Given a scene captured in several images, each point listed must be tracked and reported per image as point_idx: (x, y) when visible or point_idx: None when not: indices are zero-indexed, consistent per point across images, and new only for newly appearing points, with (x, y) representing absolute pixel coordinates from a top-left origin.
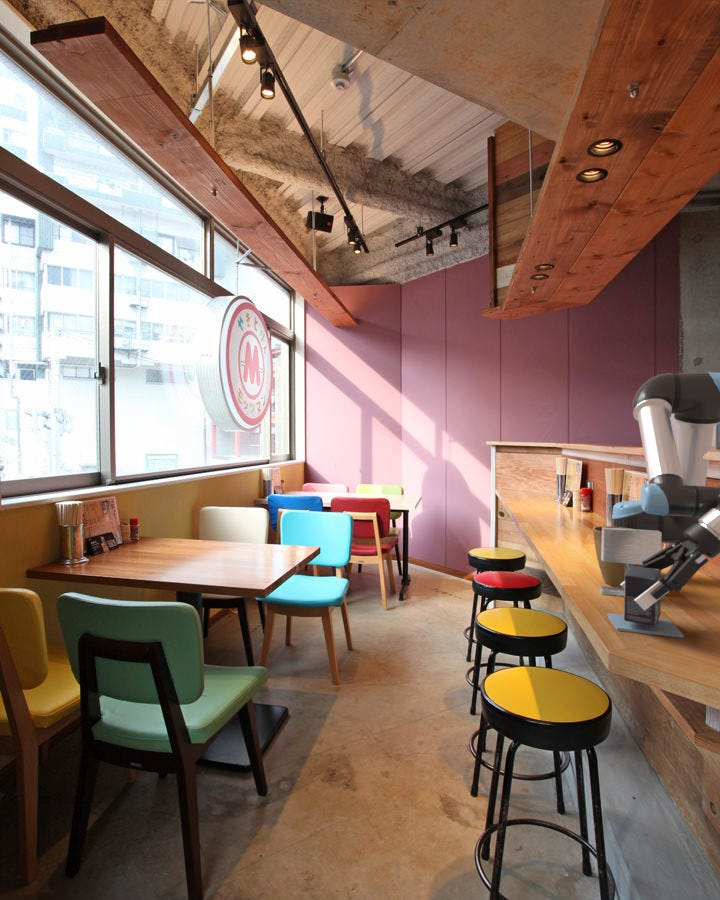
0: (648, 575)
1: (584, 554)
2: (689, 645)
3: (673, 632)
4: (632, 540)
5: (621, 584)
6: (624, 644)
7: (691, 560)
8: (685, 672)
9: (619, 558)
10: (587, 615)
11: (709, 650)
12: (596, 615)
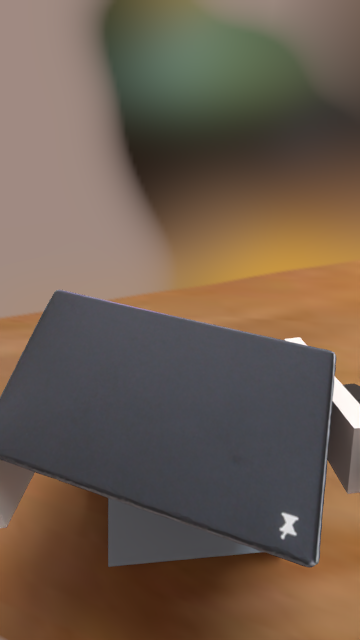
0: (48, 414)
1: None
2: (42, 562)
3: (125, 530)
4: None
5: (289, 340)
6: (7, 359)
7: None
8: None
9: None
10: (215, 286)
11: (10, 631)
12: (228, 309)
